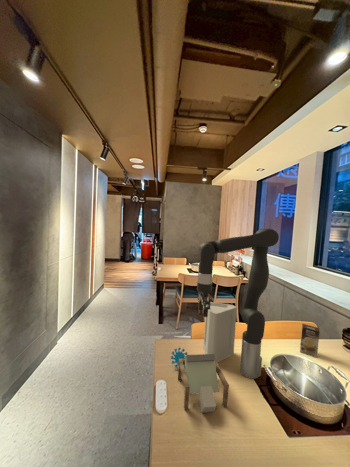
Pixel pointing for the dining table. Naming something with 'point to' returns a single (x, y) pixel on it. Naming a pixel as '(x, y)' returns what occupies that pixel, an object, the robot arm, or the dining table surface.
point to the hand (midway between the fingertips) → (202, 313)
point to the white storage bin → (220, 330)
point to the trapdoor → (201, 372)
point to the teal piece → (178, 356)
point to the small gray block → (206, 399)
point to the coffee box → (309, 340)
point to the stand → (186, 398)
